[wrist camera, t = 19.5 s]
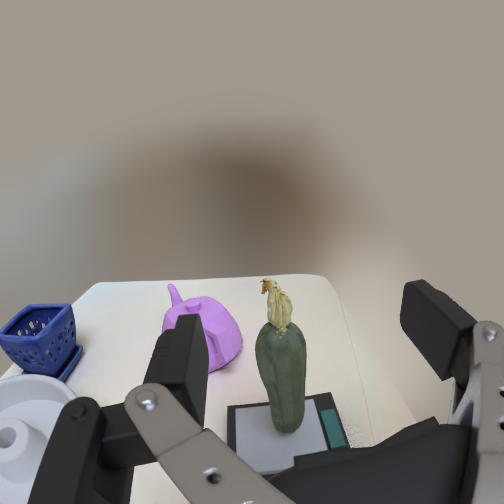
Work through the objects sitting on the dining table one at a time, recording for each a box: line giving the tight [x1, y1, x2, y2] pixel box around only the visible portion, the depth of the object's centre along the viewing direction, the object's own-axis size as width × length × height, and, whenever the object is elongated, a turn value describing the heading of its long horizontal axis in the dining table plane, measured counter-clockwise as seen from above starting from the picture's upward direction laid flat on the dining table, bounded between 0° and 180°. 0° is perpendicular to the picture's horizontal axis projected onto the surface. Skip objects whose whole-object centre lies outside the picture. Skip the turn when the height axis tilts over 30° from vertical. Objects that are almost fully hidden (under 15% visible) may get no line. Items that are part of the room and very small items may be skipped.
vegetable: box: [255, 278, 307, 433], centre depth 26 cm, size 4×4×20 cm
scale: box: [227, 392, 350, 480], centre depth 30 cm, size 14×13×4 cm
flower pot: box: [0, 304, 83, 382], centre depth 44 cm, size 13×13×12 cm
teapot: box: [162, 284, 243, 373], centre depth 49 cm, size 13×20×11 cm
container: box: [0, 374, 78, 504], centre depth 21 cm, size 25×25×10 cm
